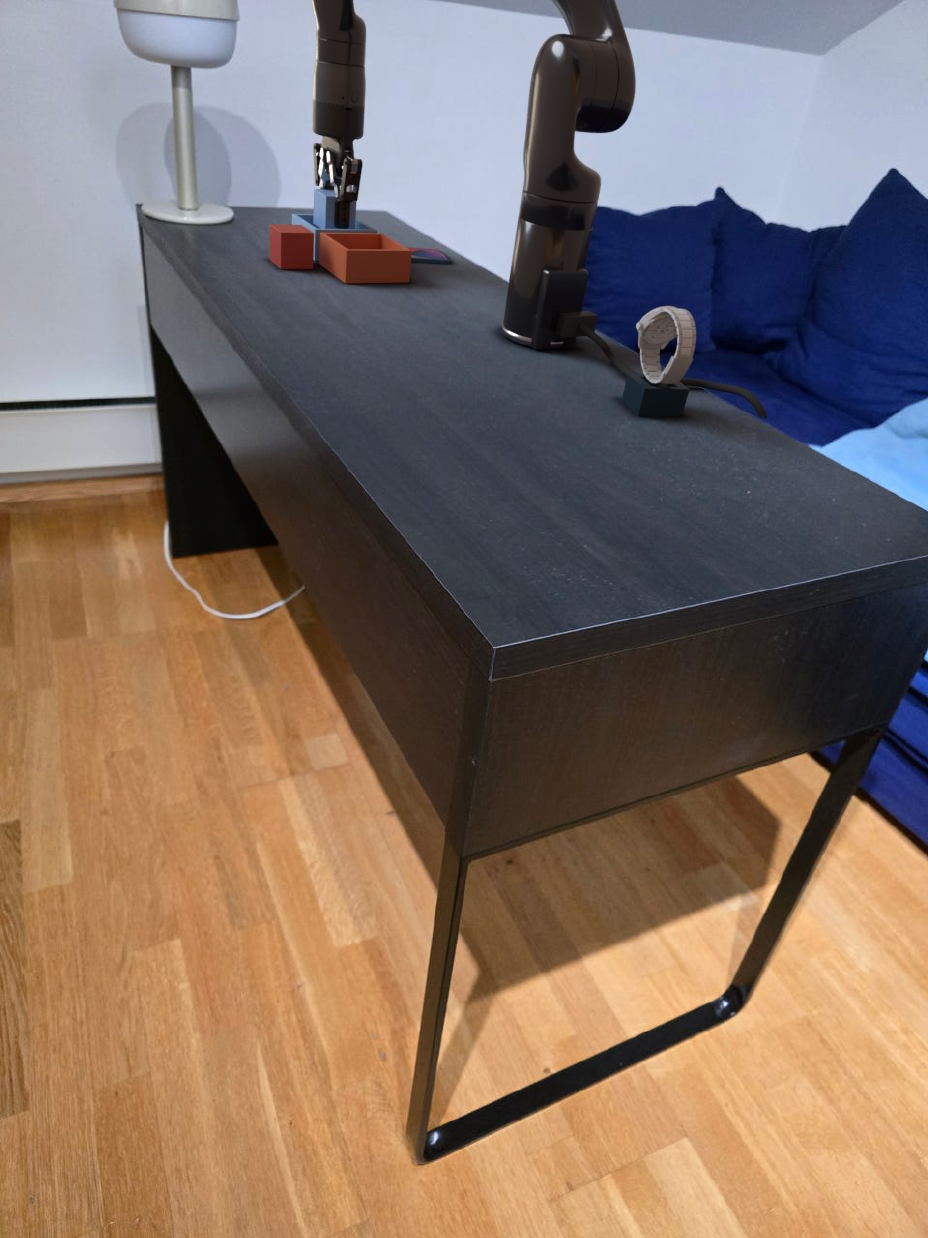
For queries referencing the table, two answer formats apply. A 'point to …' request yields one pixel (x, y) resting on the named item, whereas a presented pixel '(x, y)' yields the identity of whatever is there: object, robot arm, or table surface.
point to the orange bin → (364, 258)
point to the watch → (655, 387)
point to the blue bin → (308, 223)
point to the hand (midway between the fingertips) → (334, 223)
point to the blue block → (329, 210)
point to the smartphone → (428, 256)
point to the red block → (291, 246)
